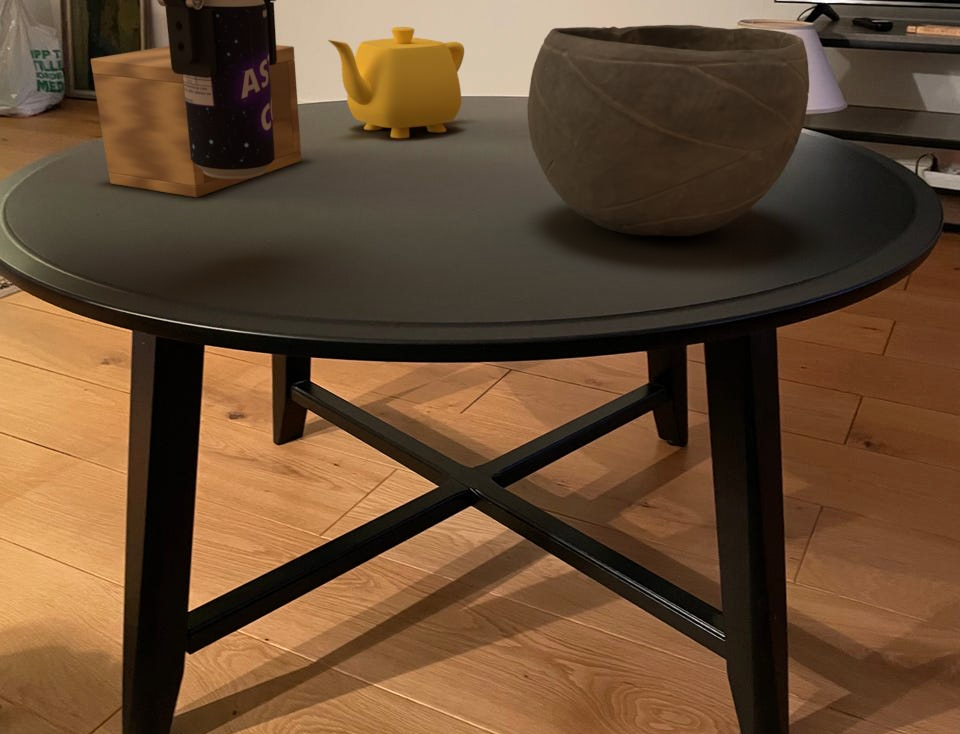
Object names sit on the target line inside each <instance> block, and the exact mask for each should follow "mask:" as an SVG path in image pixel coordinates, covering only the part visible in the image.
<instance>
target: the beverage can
mask: <svg viewBox="0 0 960 734" xmlns="http://www.w3.org/2000/svg"><path fill="white" fill-rule="evenodd" d="M202 8H204V9H211V10H212V16H213V28H214V41H215V53H216V66H217V72H216V75H215V76H214V77H210V78H204V77H197V76H189V75H183V81H184V92H185V102H186V112H187V123H188V133H189V144H190V154H191V160H192V161H193V162H194V163H195V164H196V165H197V166H198V167H199V168H201V169H202V170H203V173H204V174H205V175H207V176H210V177H215V178H222V179H244V178H251V179H253V178H252V177H254V178H257V177H260V176H262V174H263V173H264V172H265V169H266V168H267V167H268V166H269V165H270V164H271V163H272V162H273V161H274V159H275V154H274V136H273V118H272V100H271V83H270V65H269V47H268V30H267V12H266V5H265V3H264V1H263V0H204V5H203V7H202ZM259 175H260V176H259ZM263 175H264V174H263ZM256 176H257V177H256Z"/></svg>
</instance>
